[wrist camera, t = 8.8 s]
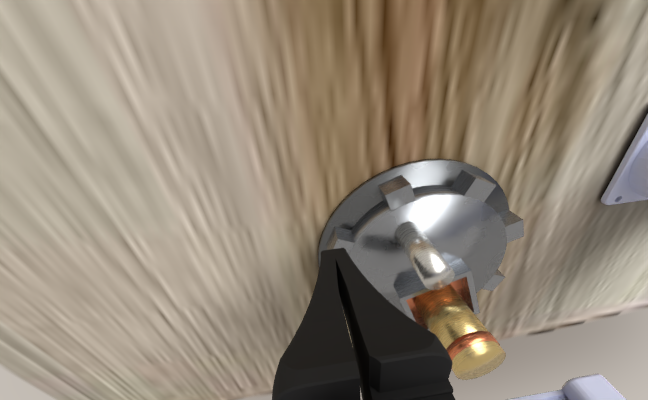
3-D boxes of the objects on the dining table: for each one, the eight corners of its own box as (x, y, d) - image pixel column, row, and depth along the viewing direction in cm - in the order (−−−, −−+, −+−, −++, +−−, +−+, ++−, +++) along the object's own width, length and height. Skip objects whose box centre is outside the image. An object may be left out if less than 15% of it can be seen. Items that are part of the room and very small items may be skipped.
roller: (459, 279, 18) (515, 345, 14) (446, 308, 20) (494, 374, 16) (419, 284, 18) (465, 353, 13) (410, 313, 19) (448, 384, 15)
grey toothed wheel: (531, 157, 16) (635, 197, 11) (481, 300, 23) (531, 363, 18) (317, 184, 15) (328, 240, 10) (332, 324, 22) (343, 396, 17)
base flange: (534, 145, 16) (539, 147, 16) (480, 298, 23) (483, 302, 23) (306, 174, 15) (307, 176, 15) (326, 323, 23) (327, 327, 22)
